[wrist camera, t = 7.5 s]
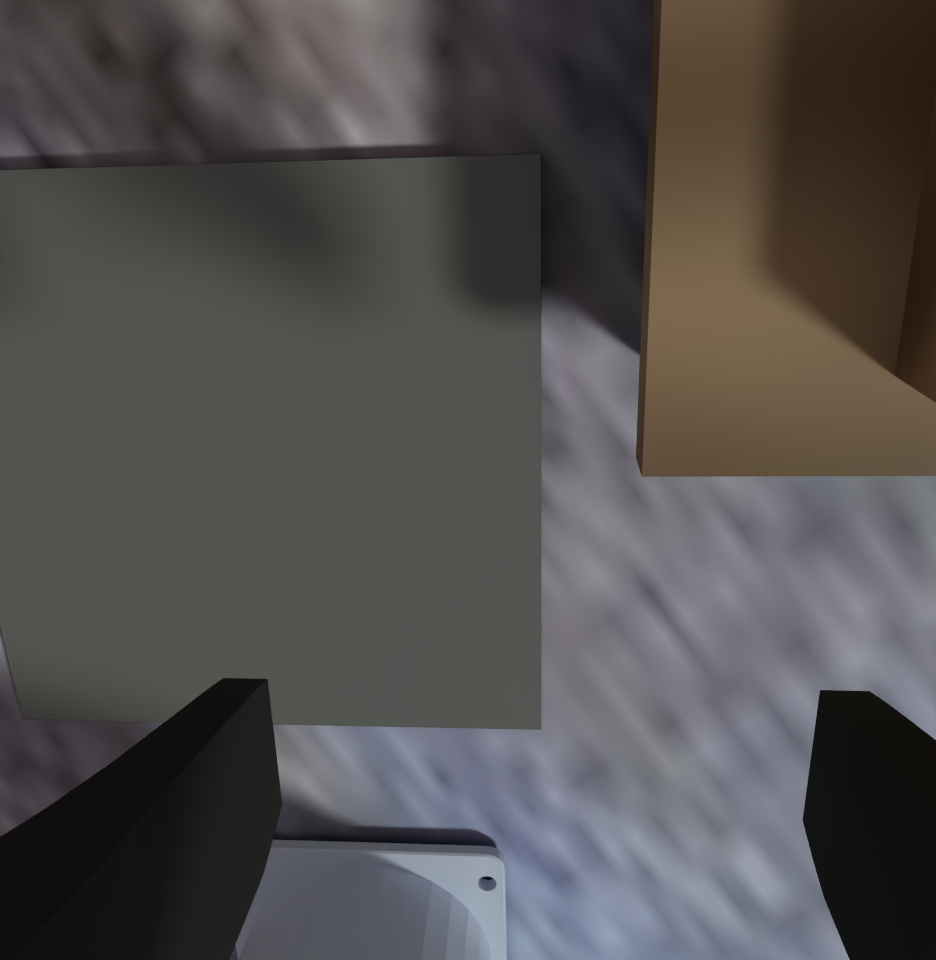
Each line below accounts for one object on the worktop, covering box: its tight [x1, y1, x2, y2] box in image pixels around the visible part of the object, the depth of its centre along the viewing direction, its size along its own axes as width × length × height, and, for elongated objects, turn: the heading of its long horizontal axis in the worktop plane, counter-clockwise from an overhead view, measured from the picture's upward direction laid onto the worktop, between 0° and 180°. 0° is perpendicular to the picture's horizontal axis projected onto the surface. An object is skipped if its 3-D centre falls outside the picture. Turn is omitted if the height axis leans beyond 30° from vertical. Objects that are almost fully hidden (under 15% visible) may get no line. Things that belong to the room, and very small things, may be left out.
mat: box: [0, 154, 541, 730], centre depth 21 cm, size 14×14×1 cm
